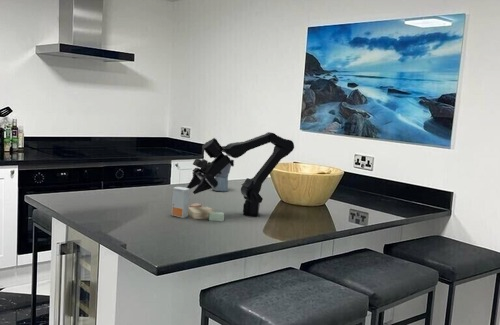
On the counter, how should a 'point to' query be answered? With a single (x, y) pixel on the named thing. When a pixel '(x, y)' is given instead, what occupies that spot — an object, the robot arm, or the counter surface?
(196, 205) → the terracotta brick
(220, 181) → the moka pot
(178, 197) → the skincare box
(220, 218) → the sage brick
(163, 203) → the counter surface
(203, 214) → the beech slab
